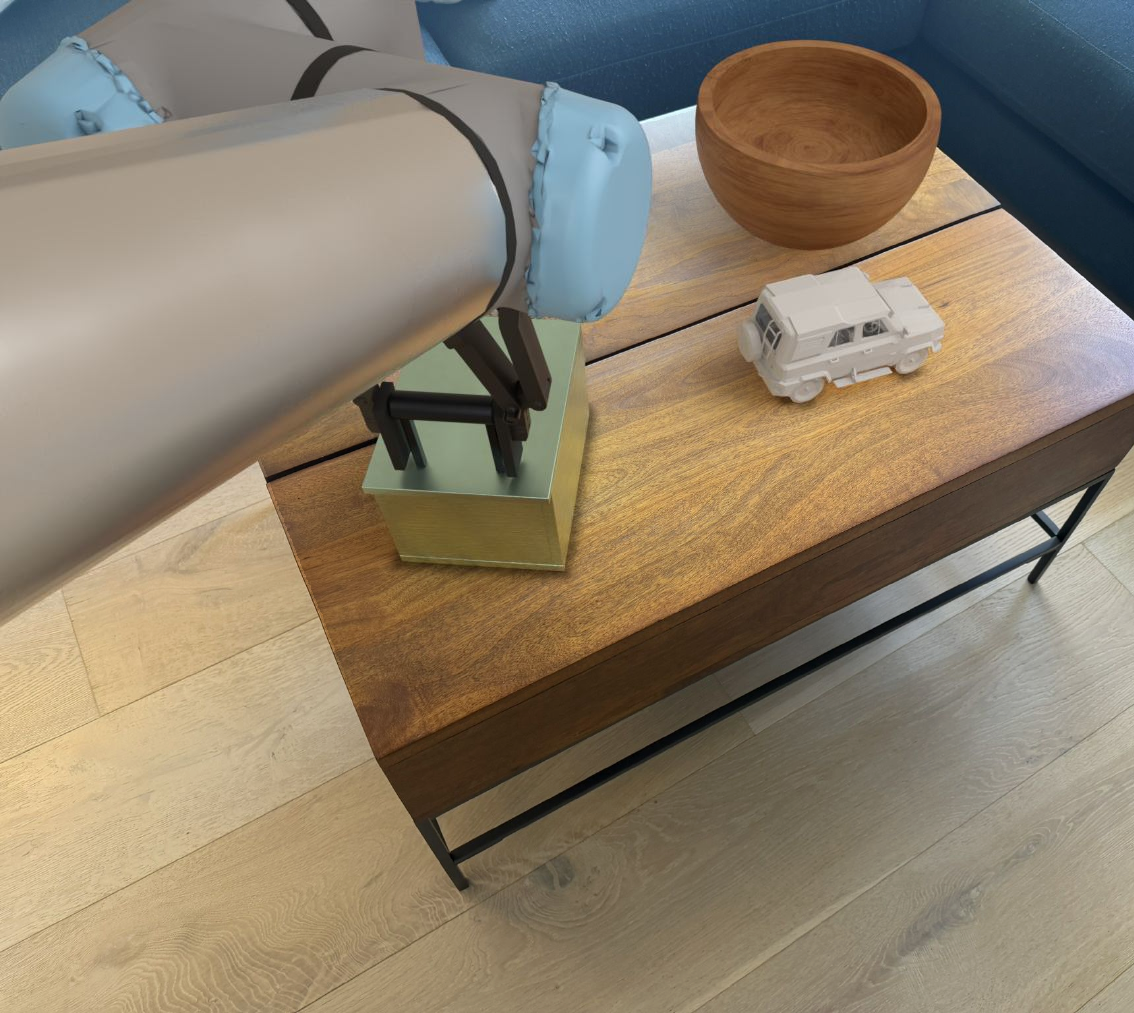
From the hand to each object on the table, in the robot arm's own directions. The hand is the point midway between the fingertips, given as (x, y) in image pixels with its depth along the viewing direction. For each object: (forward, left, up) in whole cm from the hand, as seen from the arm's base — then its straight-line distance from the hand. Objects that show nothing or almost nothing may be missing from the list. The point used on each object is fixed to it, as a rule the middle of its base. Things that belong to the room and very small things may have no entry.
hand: (459, 459), depth 66 cm
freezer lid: (+6, +4, -2) cm, 7 cm away
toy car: (+38, -11, -13) cm, 42 cm away
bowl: (+54, +4, -13) cm, 56 cm away
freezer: (+6, +4, -13) cm, 15 cm away
